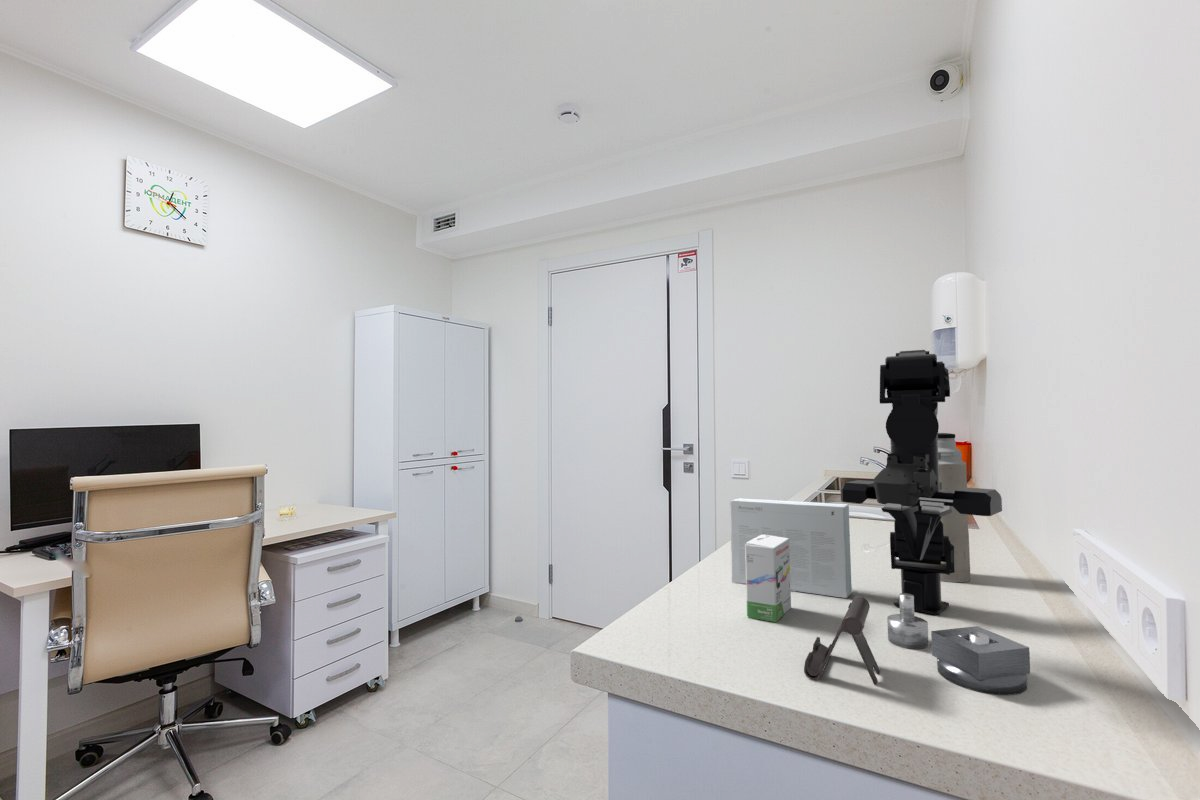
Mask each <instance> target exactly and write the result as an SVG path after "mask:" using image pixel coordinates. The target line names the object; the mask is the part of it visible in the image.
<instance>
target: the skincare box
mask: <svg viewBox="0 0 1200 800" xmlns="http://www.w3.org/2000/svg"><path fill="white" fill-rule="evenodd" d="M729 506H730V507H729V509H730V512H729V513H730V551H731V552H730V553H731V558H730V559H731V582H732V583H735V584H742V585H746V562H745V544H747V543H746V542H748V541H750V540H752V539H754V538H756V537H758V536H760V535H771V536H777V537H784V538H789V544H790V585H791V592H798V593H799V592H800V593H807V594H814V595H821V596H830V597H836V598H843V599H848V597H849V596H850V595H851V593H852V590H853V588H852V564H851V561H852V559H851V558H852V557H851V537H850V508H849V507H850V505H849V504H847V503H846V504H845V503H833V502H832V503H829V502H818V501H817V502H816V501H815V502H814V501H813V502H812V501H796V500H780V499H760V498H759V499H757V498H741V497H739V498H735V499H732V500H730V501H729Z"/></svg>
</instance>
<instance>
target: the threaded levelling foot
mask: <svg viewBox="0 0 1200 800" xmlns="http://www.w3.org/2000/svg"><path fill="white" fill-rule="evenodd" d="M898 596H899V599H898V600H899V603H900V607H899V613H893V614H889V615H888V616H887V620H886V621H887V622H886V623H887V640H888V642H889V643H891V644H892V645H894V646H897V647H901V648H903V649H904V648H905V649H909V650H910V649H911V650H922V649H927V648H928V647H929V622H928V621H927V620H926V619H924V618H922V617H919V616H915V610H914V595H912V594H908V593H902V592H900V593H898Z"/></svg>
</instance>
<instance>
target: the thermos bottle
mask: <svg viewBox="0 0 1200 800" xmlns="http://www.w3.org/2000/svg"><path fill="white" fill-rule="evenodd" d="M937 436H938V445H936V446H938V452H941V460H938V463H939V482H942V490H940V491H941V492H955V490H959V489H962V488H968V480H967V477H968V475H967V463H966V461H963V460H962V456H963V454H962V450H960V449H958V448H957V443H956V440H955V438H956V434H955V433H949V432H938V434H937ZM949 509H952V513H950V514H948V515H945V516H942V518H941V522H942V523H943V533H944V536H949V540H950V543H951V544H952V545H954V570H955V573H950V575H946V574H942V573H940V579H941V582H946V583H947V582H948V583H965V582H969V581H970V580H972V579H971V564H970V563H971V561H970V560H971V559H970V557H971V556H970V534H969V533H970V531H969V523H968V522H969V521H968V518H969V516H968V514H960V513H959V512H958V511H957V510H956V509H955V508H954V507H953V506H949ZM941 564H945V562H941Z"/></svg>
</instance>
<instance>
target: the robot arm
mask: <svg viewBox="0 0 1200 800" xmlns="http://www.w3.org/2000/svg"><path fill="white" fill-rule="evenodd" d="M884 362H885V364H880V366H879V404H881V405H883V404H891V410H890V412H889V414H888V416H887V418H886V422H885V431H886V433H887V436H888V437H889V439H890V452H888V453H887V457H886V465H885V468H882V469H881V471H879V473H877V475H876V476H875V477H874V478H873V480H864V479H863V480H861V479H856V480H851V481H847V482H844V483H843V484H842V486H841V488H840V502H842V503H850V504H851V503H852V504H863V503H864V502H865V501H866V500H867V499H868V500H869V499H871V500H876V501H877V503H878V504H881V505H883V507H881V508H880V509H881V511H882V512H883V513H887V514H889V515H890V516H891V517H892V518H893V519H894V525H893V527H894V529H893V530H894V531H890V532H889V540H890V541H889V545H890V546H889V547H890V551H889V552H890V563H891V564H890V565H891V567H890V568H891V569H892V570H896V569H897V570H900V581H901V583H900V584H901V585H900V587H901V593H908V594H912V595H914V611H916V612H921V613H926V614H930V615H936V616H937V615H938V614H940V613H942V612H943V611H944V610H946V609H947V608H949V607H950V603H949V602H947V601H943V600H942V585H941V584H942V583H941V582H942V581H941V579H940V573H942V574H946V575H950V573H955V570H954V545H952V544H951V543H950V540H949V536H944V533H943V523H942V522H941V518H942V516H945V515H948V514H950V513H952V509H949V506H953V507H954V508H955V509H956V510H957V511H958V512H959V513H960V514H968V515H971V516H980V517H992V516H994V515H996V514H999V513H1001V512H1003V499H1002V496H1001V493H1000V492H998V491H997V490H996V489H995V488H994V489H993V488H982V487H980V488H979V487H978V488H977V487H967V488H962V489H959V490H955V492H941V491H940V490H942V482H939V463H938V460H941V452H938V446H936V445H938V436H937V434H938V433H939V429H940V428H939V427H940V425H939V420H938V418H937V417H938V414H939V413H938V409H939V407H938V406H939V405H938V403H946V398H947V397H948V398H950V397H951V387H950V386H951V385H950V375H949V369H948V368H947V367H946V366H945V363H944V362H943V360H942V361H938V357H937V355H936V353H930V350H926V349H916V350H915V349H914V350H902V351H899V352H896V353H895V355H894V356H893V355H892V356H886V358H885V360H884ZM886 396H887V397H886ZM897 558H898V559H897ZM941 562H945V564H941ZM893 606H895V607H899V608H900V603H899V599H897V600H896V601H893Z"/></svg>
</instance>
